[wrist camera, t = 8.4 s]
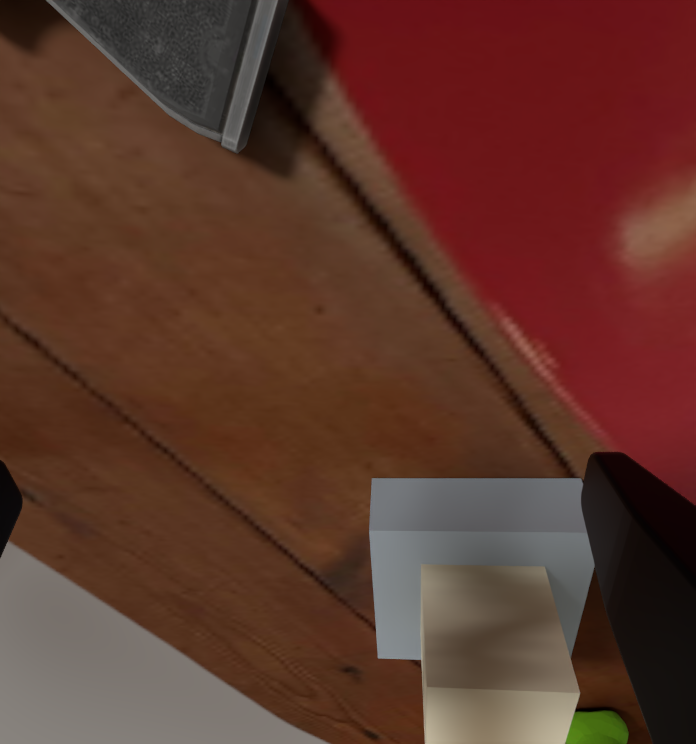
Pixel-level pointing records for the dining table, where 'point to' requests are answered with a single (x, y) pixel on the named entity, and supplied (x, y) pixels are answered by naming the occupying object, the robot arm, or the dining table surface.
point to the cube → (493, 657)
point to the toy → (597, 728)
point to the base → (473, 544)
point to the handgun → (189, 55)
